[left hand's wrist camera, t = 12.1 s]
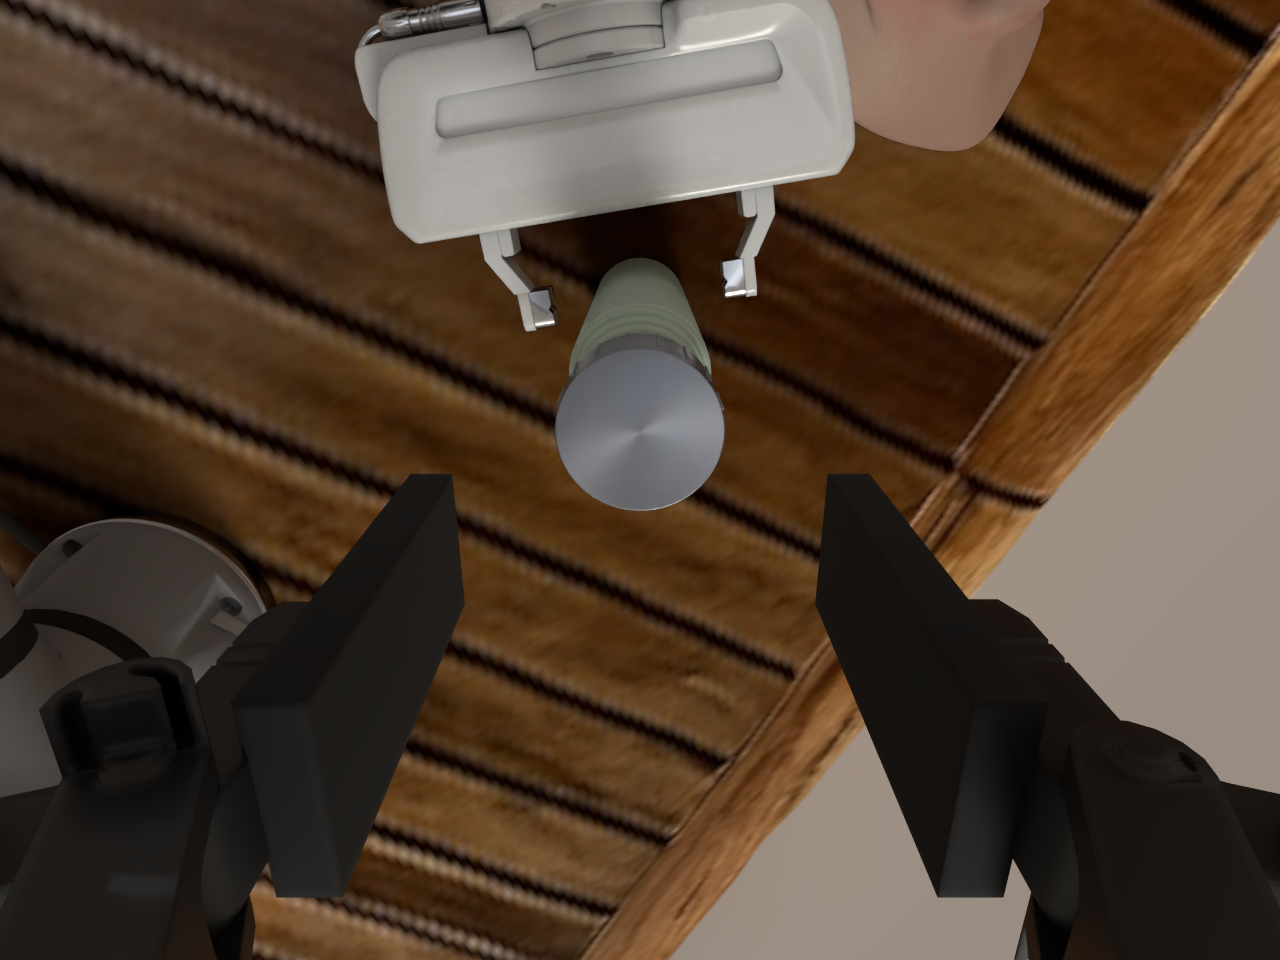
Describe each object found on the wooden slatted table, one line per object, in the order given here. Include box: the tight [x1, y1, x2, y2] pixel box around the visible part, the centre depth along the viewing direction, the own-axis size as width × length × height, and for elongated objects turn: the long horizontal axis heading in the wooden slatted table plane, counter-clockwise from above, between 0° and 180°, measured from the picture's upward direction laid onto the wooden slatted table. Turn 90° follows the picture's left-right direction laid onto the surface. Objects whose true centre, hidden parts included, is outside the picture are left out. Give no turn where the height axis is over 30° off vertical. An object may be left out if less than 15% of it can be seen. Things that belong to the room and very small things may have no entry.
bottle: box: [569, 258, 711, 377], centre depth 32 cm, size 5×5×23 cm
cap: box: [555, 333, 725, 511], centre depth 21 cm, size 5×5×2 cm
